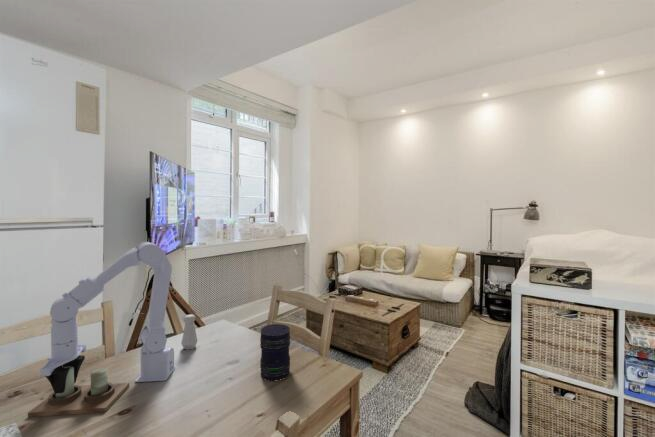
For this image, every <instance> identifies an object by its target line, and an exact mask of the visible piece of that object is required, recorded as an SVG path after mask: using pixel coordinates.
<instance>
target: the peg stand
mask: <svg viewBox="0 0 655 437" xmlns="http://www.w3.org/2000/svg"><path fill="white" fill-rule="evenodd" d="M128 388H130V382H121V383H111V382H109V368H107V367H99V368H97V369H95V370H93V371H91V373H90V384H87V385H86V384H85V385H82V384H81V385H76V384H74V393H73V394H71V395H70V396H67V397H64V398H56V394H55V393H54V391H53V392H52V393H50V394H49V395H48V397H46V398H45V399H44V400H42V401H41V402H39V404H37V405H36V406H35V407H33V408H32V409H31V410H30V411H28V412H27V417H28V418H36V417H37V418H38V417H53V416H66V415H80V414H81V415H82V414H95V413H96V414H99V413H107V411H108V410H109V409H110V408H112V406H113V405H114V404H115V403H116V402H117V401H118V400H119V399H120V398H121V396H123V394H124V393H125V392H127V390H128Z"/></svg>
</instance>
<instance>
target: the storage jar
mask: <svg viewBox="0 0 655 437" xmlns="http://www.w3.org/2000/svg"><path fill="white" fill-rule="evenodd" d="M290 329H291V328H290V327H289V326H288V325H285V324H281V323H279V324H278V323H276V324H269V325H265V326H263V327H262V328H260V340H259V341H260V345H259V346H260V350H261V357H260V364H259V366H260V367H259V368H260V378H261V379H262V378H264V379H266V380H269V381H268V382H276V381H275V380H280V379H283V378H285V377H287V376H288V375H289V376H290V374H289V373H290V368H291V355H290V346H291V333H290V331H291V330H290ZM289 376H288V377H289ZM288 377H287V378H288ZM264 379H263V380H264ZM285 379H286V378H285ZM266 380H265V381H266ZM283 380H284V379H283ZM280 381H281V380H280Z"/></svg>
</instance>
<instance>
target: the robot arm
mask: <svg viewBox="0 0 655 437" xmlns="http://www.w3.org/2000/svg"><path fill="white" fill-rule="evenodd" d="M141 262H142V263H144V264H146V265H148V266H149V268H151V269H152V270H153V271H154V274H153V279H152V280H153V281H152V287H151V291H150V292H151V293H150V299H149V307H148V313H147V319H146V320H145V323H144V327H143V328H142V329H141V332H140V334H139V338H140V341H141V342H142V343H143V345H142V346H141V348H140V375H138V377H137V378H136V379H135V380H134V382H135V383H143V382H144V383H147V382H162V381H163V382H164V381H167V379H169V377H170V376H171V375H172V373H173V372H174V370H175V369H176V366H175V349H174V348H173V347H169V346H167V345H166V344H167V340H168V339H167V335H166V333H165V332H166V323H165V317H166V310H167V305H168V304H167V303H168V299H169V298H168V297H169V289H170V284H171V276H172V270H173V268H172V264H171V262H170V260H169V258H168V256H167V255H166V252H165V250H164V249H162V248H161V247H160V246H158V245H157V244H154V243H152V242H150V241H142V242H140V243H139V244H137V245H136V246H135V247H133V248H130V249H129V250H127V251H126V252H125V253H124V254H122V255H121V256H119V258H117V260H115V261H114V262H112V264H110V265H108V267H107V268H105V269H104V270H103V271H102V272H100V273H99V274H98V275H97V276H94V277H93V276H91V277H86V278H85V279H84V278H82V279H81V280H79V281H78V284H77V285H76V286H75V287H73V288H72V289H71V290H70V291H68V292H64V293H63V294H62V297H60V298H57V299H56V300H55V301H54V302H53V303H52V305H51V307H50V311H49V314H50V317H51V320H50V322H51V327H50V346H51V347H50V348H51V349H50V350H51V351H50V353H51V354H50V356H48V357H47V361H48V362H46V364H45V365H44V366H43V367H42V368H40V369H39V372H40V373H39V374H40V377H45V378H46V379H47V380H48V382H49V383H50V385H51V388H52V390H53V392H54V393H55V394H56V393H63V392H64V391H65V386H66V378H67V374H68V372H69V370H70V368H64V367H67V366H73V367H74V384H76V382H77V380H78V375H79V372H80V368H81V367H82V364H83V363H84V361H85V359H86V355H83V354H82V355H81V353H85V352H86V351H87V345H86V344H79V337H78V336H79V334H78V333H79V331H78V328H79V327H78V321H77V315H78V312H79V310H80V309H81V308H84V307H85V306H87V304H89V303H91V301H93V300H94V299H95V298H96V297H98V296H99V295H100V294H102V292H104V291H105V285H106V284H107V283H109V282H110V281H111V280H113V279H114V278H115V277H117V276H118V275H120V274H121V273H122V272H124V271H125V270H126V269H127V268H130V267H136V266H141Z"/></svg>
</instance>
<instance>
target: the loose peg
mask: <svg viewBox="0 0 655 437" xmlns="http://www.w3.org/2000/svg"><path fill="white" fill-rule="evenodd" d="M64 368H70V370H69V372H68V374H67V378H66V386H65V391H64V392H63V393H56V398H64V397H67V396H70V395H71V394H73V393H74V385H75V383H74V367H73V366H67V367H64Z"/></svg>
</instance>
